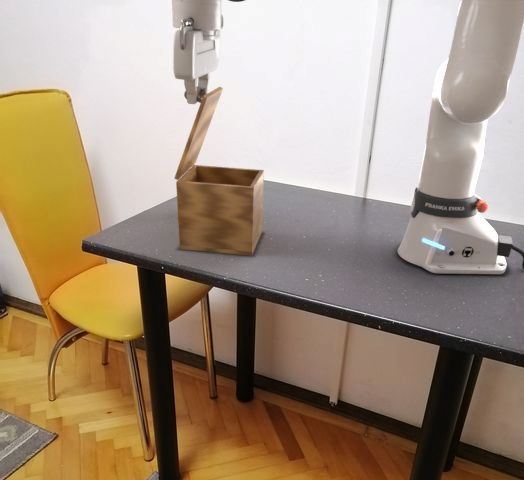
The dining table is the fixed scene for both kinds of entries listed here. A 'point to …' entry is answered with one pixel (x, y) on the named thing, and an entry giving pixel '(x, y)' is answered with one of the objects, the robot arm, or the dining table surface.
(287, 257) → the dining table surface
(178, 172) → the lid
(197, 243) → the chest
